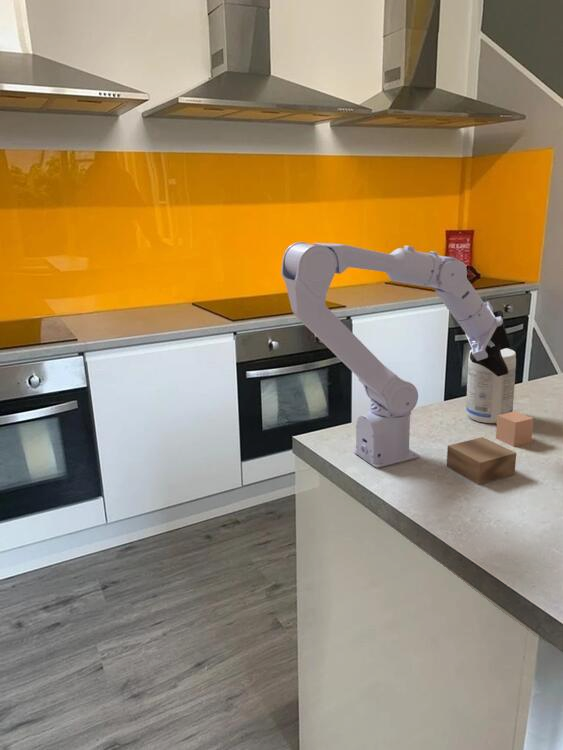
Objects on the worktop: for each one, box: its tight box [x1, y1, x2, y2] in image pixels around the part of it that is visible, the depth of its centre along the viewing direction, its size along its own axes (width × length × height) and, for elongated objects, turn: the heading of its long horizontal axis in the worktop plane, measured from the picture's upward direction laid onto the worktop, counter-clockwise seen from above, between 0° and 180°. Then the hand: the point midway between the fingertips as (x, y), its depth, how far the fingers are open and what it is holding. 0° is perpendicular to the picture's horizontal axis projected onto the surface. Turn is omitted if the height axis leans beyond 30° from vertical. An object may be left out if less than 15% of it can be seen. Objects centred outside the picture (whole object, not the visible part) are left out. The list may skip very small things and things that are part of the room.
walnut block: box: [446, 436, 517, 485], centre depth 102 cm, size 8×8×4 cm
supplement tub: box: [465, 348, 517, 424], centre depth 125 cm, size 10×10×15 cm
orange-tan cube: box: [495, 410, 534, 448], centre depth 114 cm, size 5×5×5 cm
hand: (504, 360), depth 112 cm, fingers open, 7 cm apart
